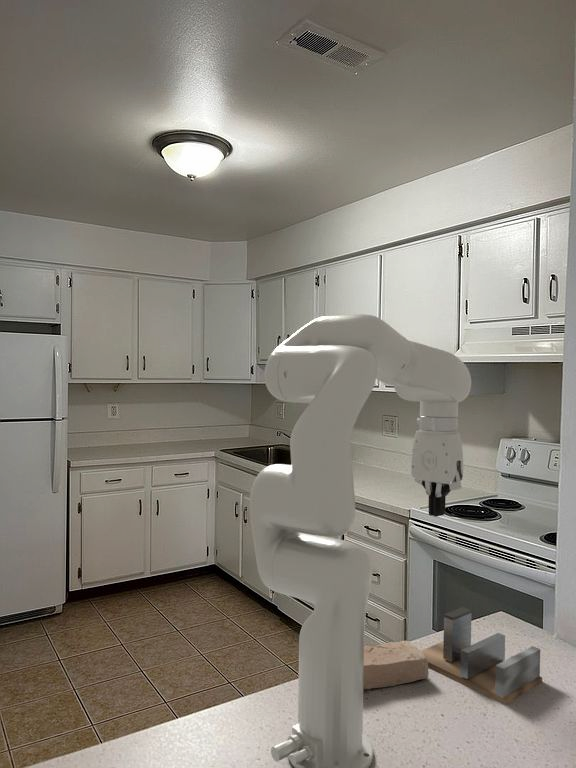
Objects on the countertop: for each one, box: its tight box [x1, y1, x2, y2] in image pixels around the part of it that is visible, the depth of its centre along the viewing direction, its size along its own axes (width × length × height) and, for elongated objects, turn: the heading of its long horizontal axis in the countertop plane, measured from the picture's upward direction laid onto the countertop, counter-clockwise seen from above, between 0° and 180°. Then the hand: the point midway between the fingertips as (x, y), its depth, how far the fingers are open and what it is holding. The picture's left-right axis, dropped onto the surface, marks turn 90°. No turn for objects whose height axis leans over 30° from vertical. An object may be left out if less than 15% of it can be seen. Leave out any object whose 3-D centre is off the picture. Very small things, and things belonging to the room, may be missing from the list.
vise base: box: [421, 640, 543, 706], centre depth 112 cm, size 12×20×6 cm, turn 39°
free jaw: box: [443, 606, 506, 679], centre depth 113 cm, size 12×8×8 cm, turn 129°
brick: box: [363, 640, 430, 691], centre depth 109 cm, size 16×8×5 cm, turn 107°
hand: (436, 514), depth 122 cm, fingers closed
